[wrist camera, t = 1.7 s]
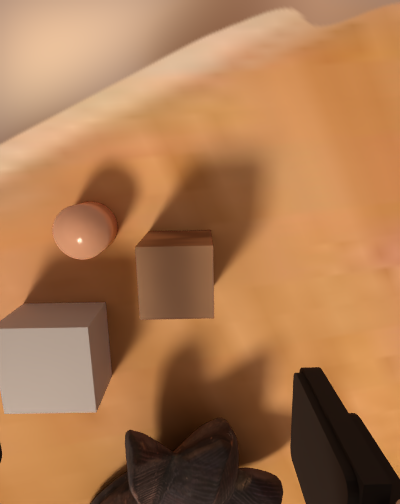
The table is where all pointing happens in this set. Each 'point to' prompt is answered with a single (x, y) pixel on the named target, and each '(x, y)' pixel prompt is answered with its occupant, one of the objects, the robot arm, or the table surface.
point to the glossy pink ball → (84, 229)
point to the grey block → (54, 358)
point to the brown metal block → (175, 275)
